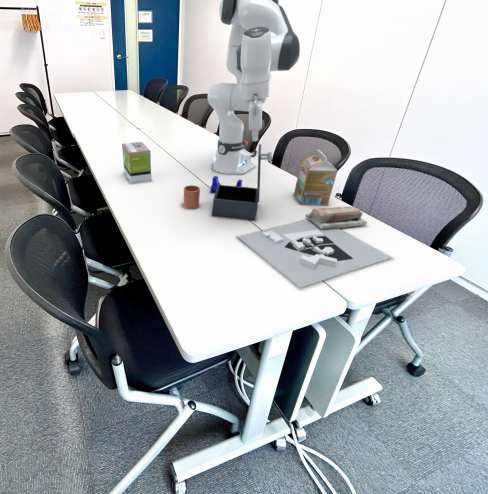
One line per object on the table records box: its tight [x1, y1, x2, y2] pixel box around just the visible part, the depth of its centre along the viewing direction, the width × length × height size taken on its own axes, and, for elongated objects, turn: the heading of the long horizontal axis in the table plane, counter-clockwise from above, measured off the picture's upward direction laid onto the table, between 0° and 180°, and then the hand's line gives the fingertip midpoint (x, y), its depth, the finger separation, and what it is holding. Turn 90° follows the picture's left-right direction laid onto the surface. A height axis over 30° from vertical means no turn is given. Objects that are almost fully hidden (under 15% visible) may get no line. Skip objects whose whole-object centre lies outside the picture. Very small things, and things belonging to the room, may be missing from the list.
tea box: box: [121, 141, 152, 185], centre depth 155 cm, size 15×10×15 cm, turn 18°
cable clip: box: [210, 175, 243, 194], centre depth 141 cm, size 12×4×6 cm, turn 65°
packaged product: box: [304, 206, 368, 229], centre depth 118 cm, size 18×5×10 cm
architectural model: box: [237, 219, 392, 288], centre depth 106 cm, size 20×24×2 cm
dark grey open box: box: [211, 184, 259, 222], centre depth 127 cm, size 16×15×7 cm
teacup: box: [182, 185, 201, 210], centre depth 131 cm, size 6×6×7 cm
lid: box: [256, 143, 273, 203], centre depth 119 cm, size 16×15×5 cm
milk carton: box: [293, 149, 338, 206], centre depth 132 cm, size 11×11×19 cm
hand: (255, 135), depth 111 cm, fingers open, 8 cm apart
